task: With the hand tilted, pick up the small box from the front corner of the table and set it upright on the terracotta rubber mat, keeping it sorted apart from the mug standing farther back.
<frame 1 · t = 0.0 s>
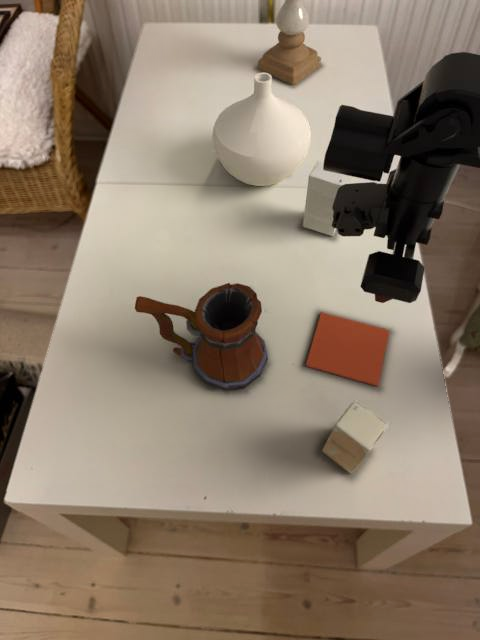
hand: (385, 274, 65), 15 cm above the table, tool pointing down, fingers open, 9 cm apart
box: (345, 451, 67), on the table
cosmetic box: (320, 225, 90), on the table
vase: (260, 169, 98), on the table
mug: (209, 357, 75), on the table
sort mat: (348, 348, 76), on the table
candle holder: (289, 67, 116), on the table
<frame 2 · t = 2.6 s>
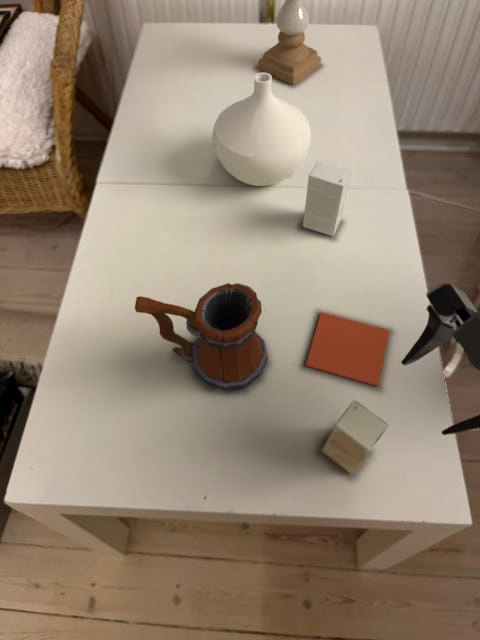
hand: (422, 397, 57), 13 cm above the table, tool tilted 45°, fingers open, 9 cm apart
nothing on the table moved.
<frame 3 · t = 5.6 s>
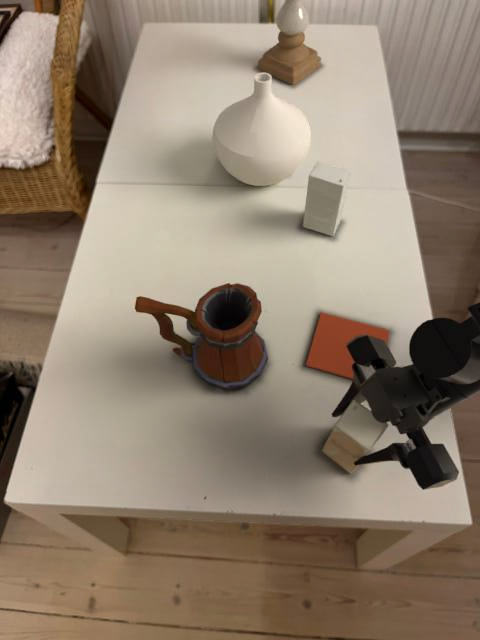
hand: (344, 439, 61), 7 cm above the table, tool tilted 45°, fingers closed on box, 6 cm apart
box: (345, 451, 67), on the table, touching gripper
everything else where it was.
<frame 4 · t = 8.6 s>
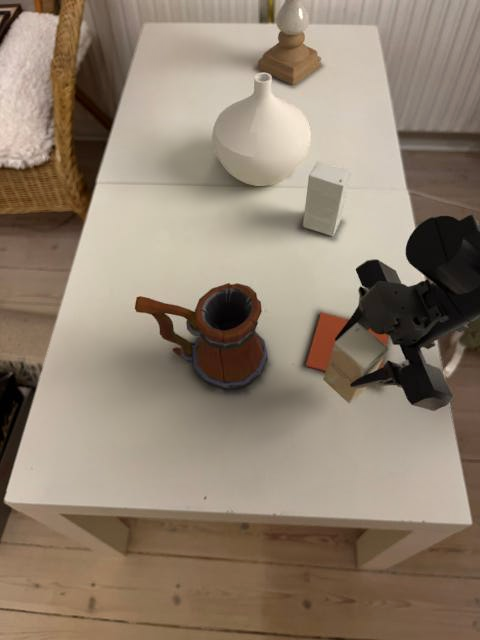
hand: (344, 363, 62), 11 cm above the table, tool tilted 45°, fingers closed on box, 6 cm apart
box: (346, 383, 68), point 4 cm above the table, touching gripper
everything else where it was.
when the fingers open (7 cm above the table, at t = 11.9 s): box stays where it is, resting on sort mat.
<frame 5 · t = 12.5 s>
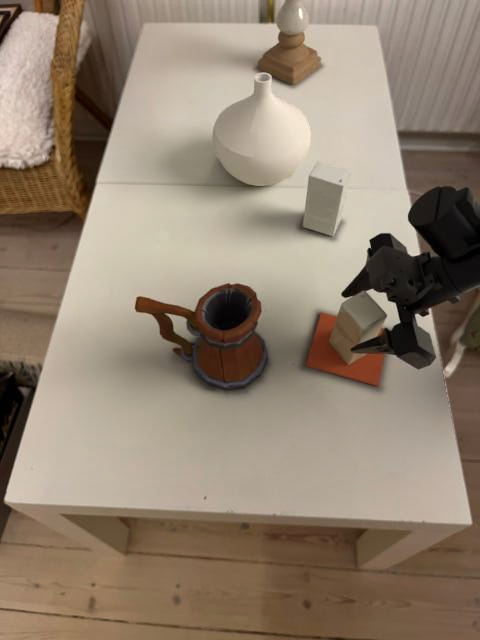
hand: (347, 322, 69), 8 cm above the table, tool tilted 45°, fingers open, 9 cm apart
box: (349, 348, 75), resting on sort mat
everything else where it was.
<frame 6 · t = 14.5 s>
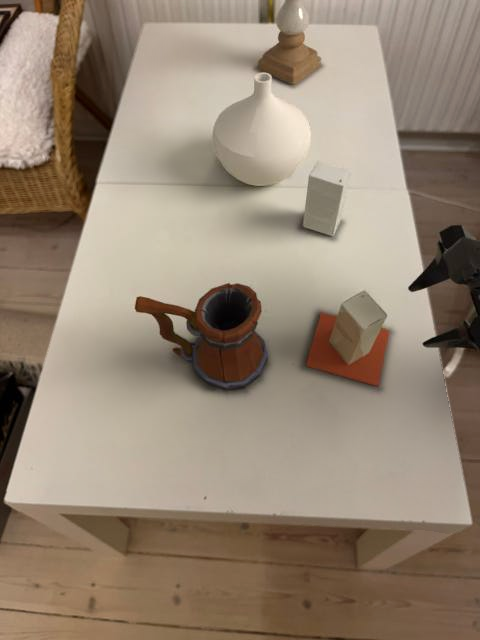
hand: (416, 316, 68), 9 cm above the table, tool tilted 45°, fingers open, 9 cm apart
nothing on the table moved.
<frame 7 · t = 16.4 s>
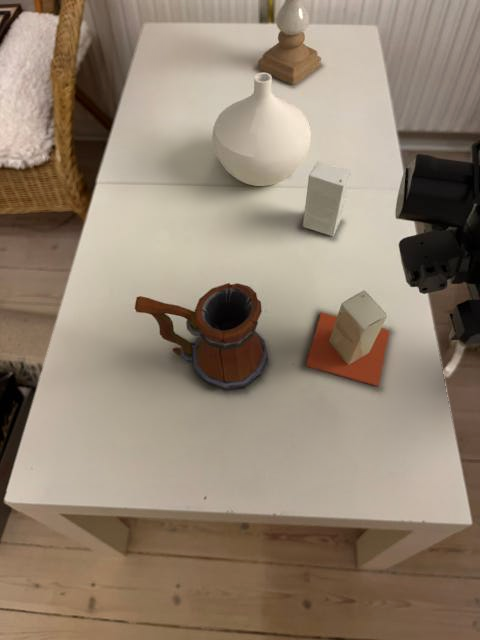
hand: (443, 308, 64), 13 cm above the table, tool pointing down, fingers open, 9 cm apart
nothing on the table moved.
at the end: box inside the target area on the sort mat (0.2 cm from its centre), point 0.2 cm above the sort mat's base; box tilted 0°; cosmetic box moved 0.2 cm from its start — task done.
